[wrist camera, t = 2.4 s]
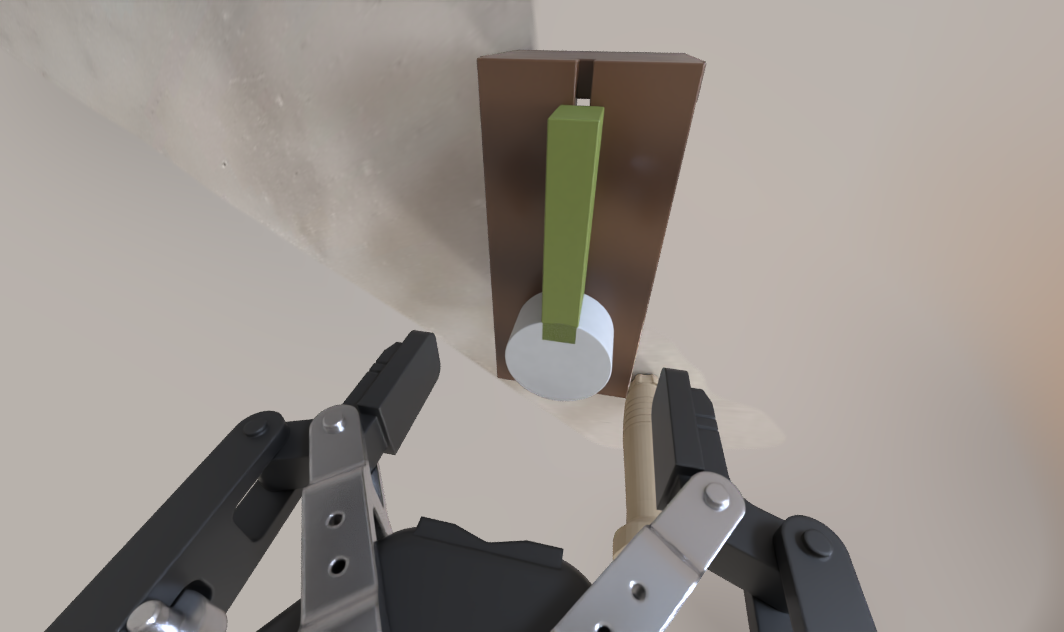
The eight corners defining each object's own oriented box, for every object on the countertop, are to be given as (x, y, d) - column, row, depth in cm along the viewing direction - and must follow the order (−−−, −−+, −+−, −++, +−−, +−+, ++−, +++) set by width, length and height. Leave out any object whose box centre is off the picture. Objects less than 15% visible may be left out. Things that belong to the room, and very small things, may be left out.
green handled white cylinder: (513, 102, 16) (493, 115, 13) (654, 108, 15) (658, 123, 12) (518, 357, 24) (506, 392, 22) (607, 370, 23) (604, 409, 21)
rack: (517, 49, 21) (471, 57, 15) (685, 53, 20) (711, 63, 14) (520, 310, 32) (494, 378, 26) (629, 324, 31) (629, 399, 24)
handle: (618, 406, 37) (614, 584, 25) (617, 357, 33) (611, 538, 21) (672, 409, 35) (693, 598, 24) (676, 358, 32) (704, 551, 20)
